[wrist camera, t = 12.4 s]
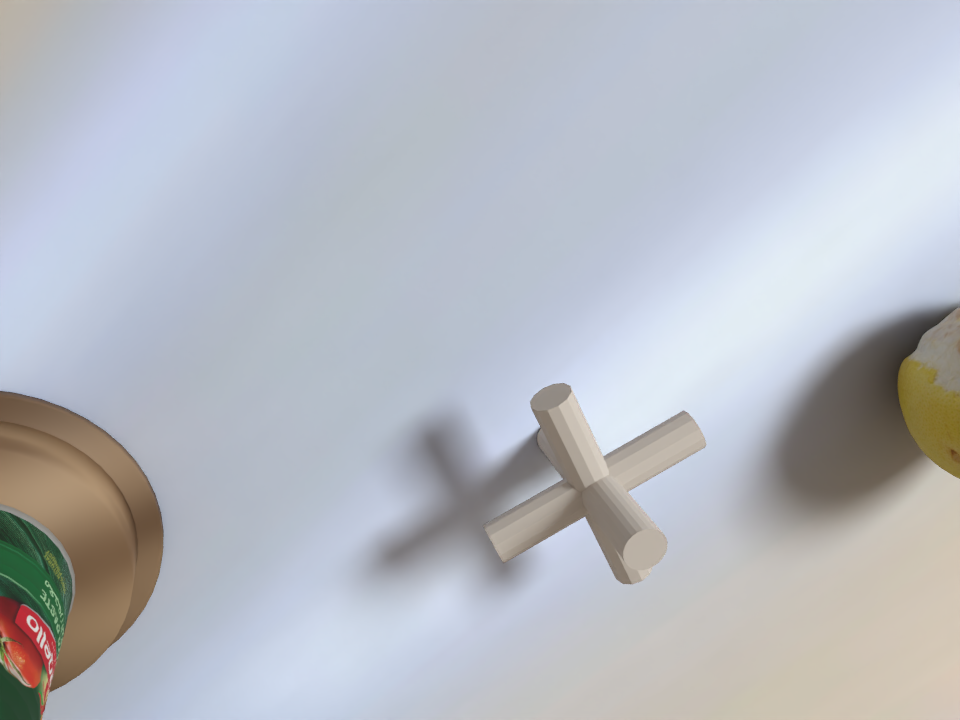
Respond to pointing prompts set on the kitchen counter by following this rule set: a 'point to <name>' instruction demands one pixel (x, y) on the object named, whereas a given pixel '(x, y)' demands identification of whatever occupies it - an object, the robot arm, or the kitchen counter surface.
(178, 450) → the kitchen counter surface
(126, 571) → the pedestal
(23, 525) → the canned tomato
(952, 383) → the fruit
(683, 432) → the pipe connector
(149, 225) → the kitchen counter surface
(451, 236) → the kitchen counter surface
